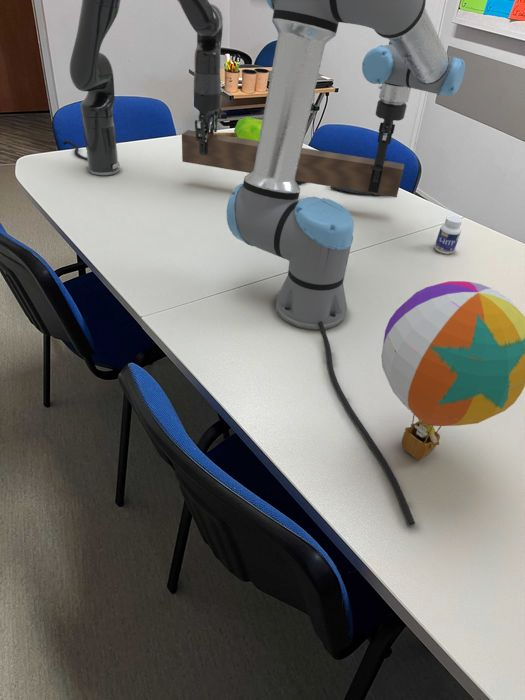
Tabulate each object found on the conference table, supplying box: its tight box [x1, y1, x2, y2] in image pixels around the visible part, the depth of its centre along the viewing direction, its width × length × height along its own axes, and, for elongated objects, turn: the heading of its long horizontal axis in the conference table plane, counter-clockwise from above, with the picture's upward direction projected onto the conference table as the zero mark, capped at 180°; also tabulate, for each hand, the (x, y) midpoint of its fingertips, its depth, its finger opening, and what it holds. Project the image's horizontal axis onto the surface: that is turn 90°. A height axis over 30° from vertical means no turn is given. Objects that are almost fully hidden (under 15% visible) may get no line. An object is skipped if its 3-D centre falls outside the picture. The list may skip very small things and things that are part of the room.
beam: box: [181, 129, 405, 198], centre depth 151 cm, size 64×5×8 cm, turn 75°
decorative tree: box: [215, 116, 263, 141], centre depth 190 cm, size 18×10×30 cm
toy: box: [380, 280, 525, 461], centre depth 74 cm, size 20×20×30 cm
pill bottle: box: [434, 215, 463, 255], centre depth 137 cm, size 5×5×9 cm
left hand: (206, 151), depth 155 cm, fingers closed on beam, 5 cm apart
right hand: (373, 188), depth 149 cm, fingers closed on beam, 5 cm apart
